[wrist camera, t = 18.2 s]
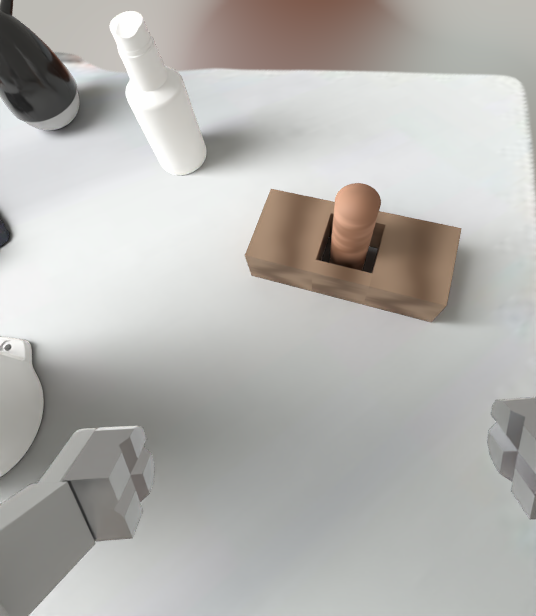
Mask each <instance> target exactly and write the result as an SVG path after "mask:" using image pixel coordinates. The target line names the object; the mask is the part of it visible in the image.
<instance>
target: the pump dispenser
mask: <svg viewBox="0 0 536 616" xmlns="http://www.w3.org/2000/svg"><path fill="white" fill-rule="evenodd" d="M12 9H13V0H1V4H0V97H1V99H2V100H3V102H4V103H5V105H6V106H7V107H8V109H9V110H10V111H11V112H12V113H13V114H14V115H15V116H16V117H17V118H18V119H20V120H22V121H24V122H26V123H27V124H29V125H31V126H33V127H35V128H38V129H42V130H56V129H60V128H62V127H64V126H66V125H68V124H69V123H70V122H71V121H72V120H73V119H74V118H75V116H76V115H77V112H78V109H79V94H78V91H77V84H76V81H75V79H74V78H73V76H72V75H71V73H70V72H69V70H68V69H67V68H66V67H65V65H64V64H63V63H62V62H61V60H60V59H59V58H58V57H57V56H56V55H55V53H54V52H53V51H52V50H51V49H50V48H49V47H48V46H47V45H46V44H45V43H44V42H43V41H42V40H41V39H40V38H39V37H38V36H37V35H35V33H33V32H32V31H31V30H30V29H29V28H28V27H26V26H25V25H24V24H23V23H21V22H20V21H19V20H17V19H16V18H15V17H13V16H12Z"/></svg>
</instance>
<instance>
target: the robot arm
mask: <svg viewBox="0 0 536 616" xmlns="http://www.w3.org/2000/svg"><path fill="white" fill-rule="evenodd" d="M10 347H11V349H10V350H9V348H10ZM43 405H44V400H43V391H42V386H41V383H40V381H39V378H38V376H37V374H36V372H35V371H34V368H33V365H32V349H31V345H30V343H29V342H28V341H26V340H22V339H17V338H8V337H0V477H1V476H3V475H4V474H6V473H7V472H8V471H9V470H11V469H12V468H13V467H14V466H15V465H16V464H17V463H18V462H19V461H20V459H21V458H22V457H23V456H24V455H25V453H26V452H27V450H28V449H29V447H30V446H31V444H32V442H33V440H34V438H35V436H36V434H37V432H38V429H39V426H40V423H41V419H42V414H43ZM491 416H492V417H493V418H494V420H495V421H496V423H495V424H494V425H493V426H492V427H491V428H490V429H489V430H488V439H487V444H488V449H489V454H490V457H491V459H492V461H493V464H494V466H495V467H496V469H497V470H498V472H499V473H500V474H501V475H503V476H504V477H506V478H507V479H509V480H511V481H512V488H511V492H512V493H513V495H514V497H515V498H516V500H517V501H518V503H519V504H520V506H521V507H522V509H523V510H524V512H525V513H526V515H527V516H528V518H529V519H536V397H526V398H513V399H500V400H495V402H494V403H493V405H492V410H491ZM146 439H147V437H146V434H145V432H144V429H143V427H140V426H119V427H100V428H85V429H79V430H77V431H75V432H74V433H73V434H72V436H71V437H70V439H69V440H68V441H67V443H66V444H65V446H64V447H63V448H62V450H61V451H60V453H59V454H58V455H57V457H56V458H55V460H54V461H53V462H52V464H51V465H50V467H49V468H48V469H47V471H46V472H45V473H44V475H43V476H42V478H41V479H40V480H39V482H38V483H34V484H30V485H28V486H27V487H25V488H24V489H22V490H21V491H19V492H18V493H16V494H15V495H13V496H12V497H11V498H9V499H8V500H6V501H5V502H3V503H2V504H0V616H29V614H30V613H31V612H32V611H33V610H34V609H35V608H36V607H37V606H38V605H39V604H40V603H41V602H42V600H43V599H44V598H45V597H46V596H47V595H48V594H49V593H50V592H51V591H52V590H53V589H54V588H55V586H56V585H57V584H58V583H59V582H60V581H61V580H62V579H63V578H64V577H65V576H66V575H67V574H68V572H69V571H70V570H71V569H72V568H73V567H74V566H75V565H76V564H77V563H78V562H79V561H80V560H81V559H82V557H83V556H84V555H85V554H86V553H87V552H88V551H89V550H90V549H91V548H92V547H93V546H94V545H95V541H105V540H118V539H130V538H133V536H134V533H135V531H136V528H137V525H138V523H139V520H140V518H141V515H142V512H143V509H142V506H141V504H140V502H141V501H142V500H143V499H144V498H145V497H146V496H148V495H149V494H150V491H151V488H152V485H153V481H154V473H155V467H154V459H153V456H152V453H151V452H150V451H149V450H148V449H146V448H145V447H144V444H145V442H146Z"/></svg>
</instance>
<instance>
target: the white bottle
mask: <svg viewBox="0 0 536 616" xmlns="http://www.w3.org/2000/svg"><path fill="white" fill-rule="evenodd" d="M109 27H110V31H111V32H112V35H113V37H114V39H115V41H116V43H117V47H118V52H119V55H120V57H121V59H122V61H123V63H124V65H125V67H126V70H127V73H128V75H129V77H130V81H129V82H128V84H127V86H126V97H127V101H128V103H129V105H130V107H131V109H132V111H133V113H134V115H135V116H136V118H137V120H138V122H139V124H140V126H141V128H142V130H143V132H144V134H145V136H146V137H147V139H148V141H149V143H150V145H151V147H152V149H153V151H154V153H155V155H156V157H157V159H158V160H159V162H160V164H161V166H162V167H163V168H164V169H165V170H166V171H167V172H169V173H171V174H175V175H186V174H189V173H192V172H194V171H195V170H197V169H198V168H200V166H201V165H202V164H203V163H204V161H205V158H206V155H207V149H206V146H205V143H204V140H203V137H202V134H201V131H200V128H199V126H198V123H197V120H196V117H195V114H194V111H193V108H192V105H191V102H190V99H189V96H188V94H187V91H186V88H185V85H184V82H183V79H182V77H181V75H180V74H179V73H178V72H177V71H176V70H175V69H173V68H171V67H168V66H164V63H163V60H162V58H161V56H160V55H159V52H158V50H157V47H156V44H155V42H154V39H153V37H152V36H151V35H150V33H149V32H148V29H147V27H146V24H145V22H144V19H143V17H142V15H141V14H140V13H138V12H135V11H128V12H124V13H121V14H119V15H117V16H116V17H114V18H113V19H112V21H111V22H110V26H109Z"/></svg>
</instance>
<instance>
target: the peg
mask: <svg viewBox="0 0 536 616" xmlns="http://www.w3.org/2000/svg"><path fill="white" fill-rule="evenodd" d="M380 205H381V200H380V196H379V194H378V193H377V191H376V190H375V189H374V188H372V187H370V186H368V185H366V184H361V183H355V184H350V185H347V186H345V187H343V188H342V189H341V190H340V191H339V192H338V193H337V195H336V198H335V206H334V217H333V228H332V238H331V249H330V260H329V263H331V264H335V265H340V266H344V267H348V268H352V269H356V270H360V271H362V270H363V266H364V263H365V259H366V256H367V252H368V248H369V245H370V241H371V238H372V234H373V230H374V227H375V223H376V220H377V216H378V212H379V209H380Z"/></svg>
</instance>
